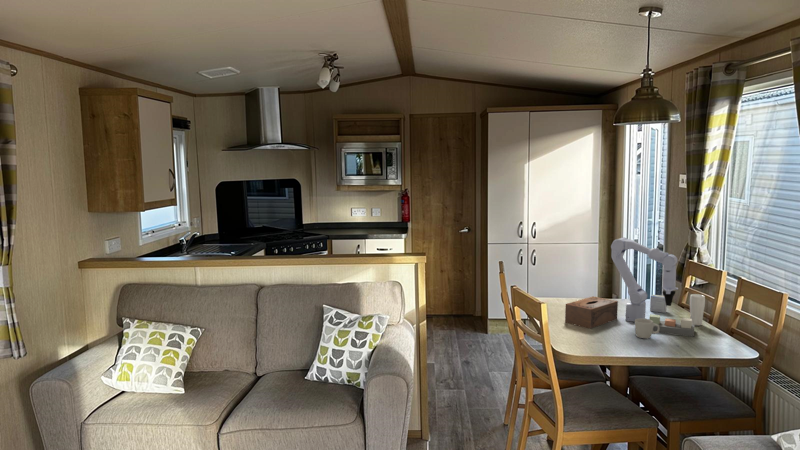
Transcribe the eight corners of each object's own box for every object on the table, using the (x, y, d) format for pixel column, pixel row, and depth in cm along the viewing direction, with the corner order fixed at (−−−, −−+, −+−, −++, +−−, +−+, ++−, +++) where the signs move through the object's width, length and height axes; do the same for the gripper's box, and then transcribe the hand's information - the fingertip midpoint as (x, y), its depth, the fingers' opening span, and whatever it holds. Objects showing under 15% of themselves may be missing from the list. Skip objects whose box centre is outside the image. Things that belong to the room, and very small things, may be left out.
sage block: (649, 324, 280) (649, 316, 280) (650, 322, 284) (650, 314, 284) (659, 325, 278) (659, 317, 278) (659, 323, 282) (660, 315, 282)
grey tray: (645, 330, 278) (645, 324, 278) (647, 324, 288) (648, 319, 287) (693, 336, 268) (694, 330, 268) (694, 330, 278) (694, 324, 277)
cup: (658, 336, 269) (659, 319, 269) (659, 341, 262) (660, 324, 261) (633, 333, 273) (634, 317, 272) (634, 338, 265) (635, 322, 265)
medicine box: (666, 311, 314) (667, 296, 313) (665, 313, 310) (666, 297, 309) (651, 309, 318) (651, 294, 317) (649, 311, 314) (650, 295, 313)
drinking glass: (705, 326, 284) (707, 297, 283) (690, 325, 286) (692, 296, 284) (701, 322, 291) (702, 294, 289) (686, 322, 292) (688, 293, 291)
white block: (680, 328, 273) (681, 320, 273) (681, 325, 277) (681, 317, 277) (691, 329, 271) (691, 321, 271) (691, 327, 275) (691, 319, 275)
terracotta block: (664, 328, 277) (665, 320, 277) (665, 326, 281) (665, 318, 280) (674, 329, 275) (675, 321, 274) (675, 327, 279) (675, 319, 278)
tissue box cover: (590, 329, 282) (590, 309, 281) (565, 322, 293) (565, 303, 292) (617, 319, 298) (617, 301, 297) (592, 314, 309) (592, 296, 308)
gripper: (677, 282, 276) (676, 309, 277) (679, 276, 288) (678, 303, 290) (661, 280, 279) (660, 308, 280) (663, 275, 292) (663, 301, 293)
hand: (668, 305), depth 285 cm, fingers closed
